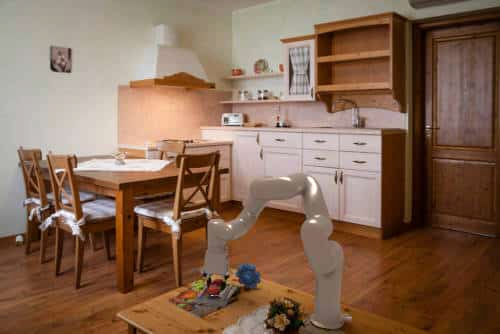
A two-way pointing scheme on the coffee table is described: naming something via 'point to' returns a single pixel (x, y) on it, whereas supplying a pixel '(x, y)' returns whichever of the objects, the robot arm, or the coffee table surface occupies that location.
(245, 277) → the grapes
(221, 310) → the coffee table surface
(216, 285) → the race car
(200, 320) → the coffee table surface
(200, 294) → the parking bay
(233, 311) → the coffee table surface
